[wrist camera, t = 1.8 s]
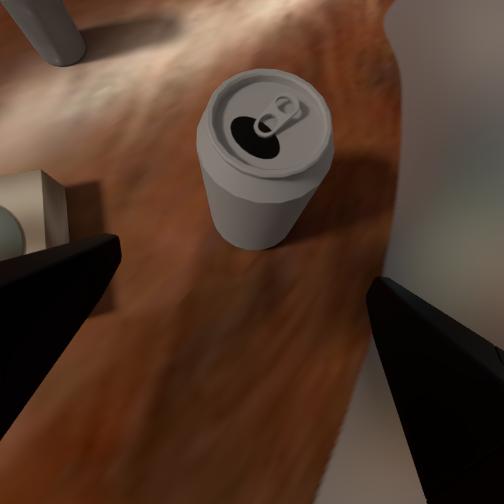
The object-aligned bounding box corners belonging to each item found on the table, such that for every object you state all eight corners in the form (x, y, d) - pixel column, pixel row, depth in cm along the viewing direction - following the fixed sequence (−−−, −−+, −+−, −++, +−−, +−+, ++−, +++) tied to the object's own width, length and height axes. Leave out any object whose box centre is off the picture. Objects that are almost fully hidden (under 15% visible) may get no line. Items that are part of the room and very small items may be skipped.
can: (194, 213, 23) (156, 111, 12) (251, 163, 25) (266, 30, 14) (254, 270, 23) (275, 220, 11) (309, 214, 24) (378, 119, 13)
